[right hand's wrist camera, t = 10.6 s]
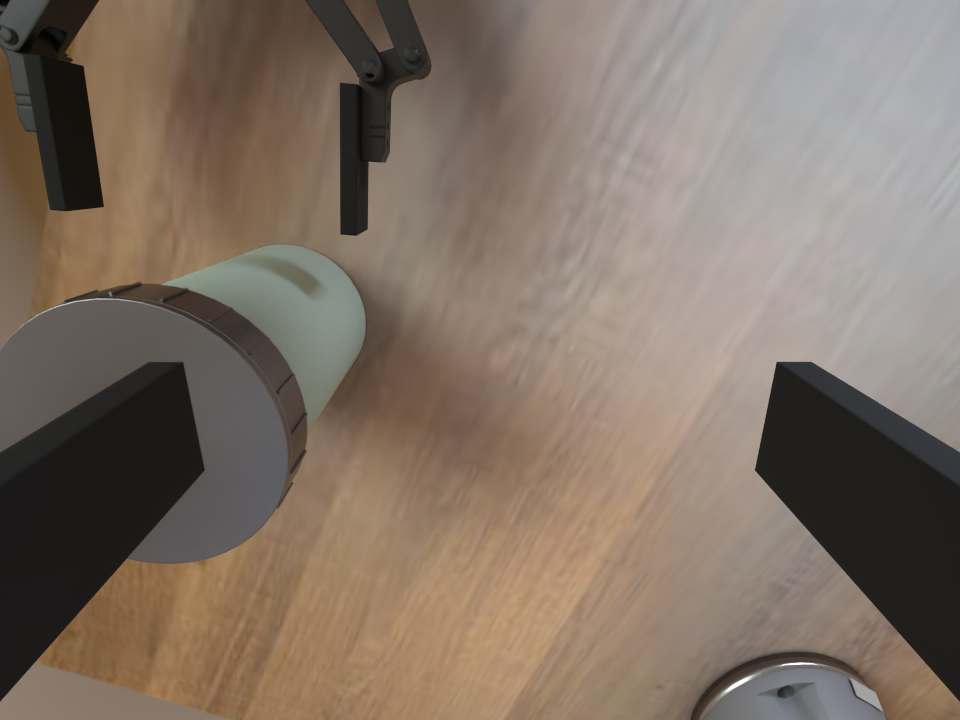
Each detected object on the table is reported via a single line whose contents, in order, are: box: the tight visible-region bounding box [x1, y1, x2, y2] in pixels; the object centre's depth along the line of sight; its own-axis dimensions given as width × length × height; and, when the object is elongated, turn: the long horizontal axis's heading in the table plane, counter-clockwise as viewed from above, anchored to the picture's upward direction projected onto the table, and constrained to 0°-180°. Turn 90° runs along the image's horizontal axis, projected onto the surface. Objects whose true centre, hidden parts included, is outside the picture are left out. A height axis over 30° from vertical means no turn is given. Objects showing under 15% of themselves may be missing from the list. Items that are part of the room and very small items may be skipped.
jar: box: [161, 244, 366, 434], centre depth 27 cm, size 10×10×16 cm
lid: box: [0, 282, 308, 564], centre depth 20 cm, size 11×11×2 cm
